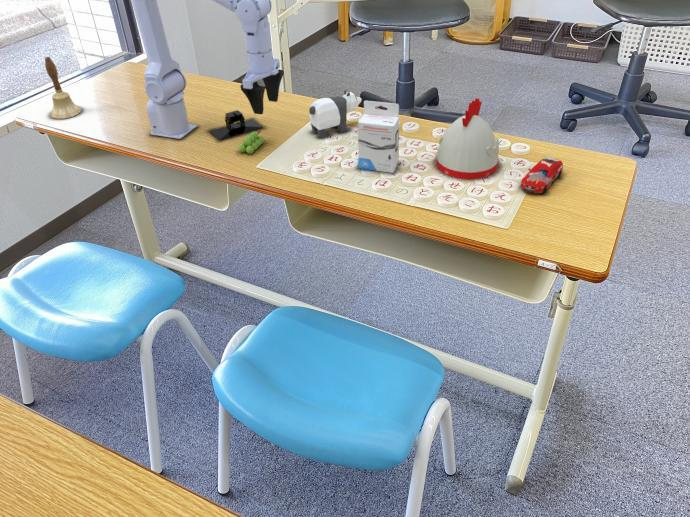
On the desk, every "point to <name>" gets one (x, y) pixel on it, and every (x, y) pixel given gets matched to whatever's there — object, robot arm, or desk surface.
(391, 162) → the ink box
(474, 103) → the white and red dome
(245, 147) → the grapes
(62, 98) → the hand bell
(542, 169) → the race car
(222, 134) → the build plate
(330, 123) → the giant panda
